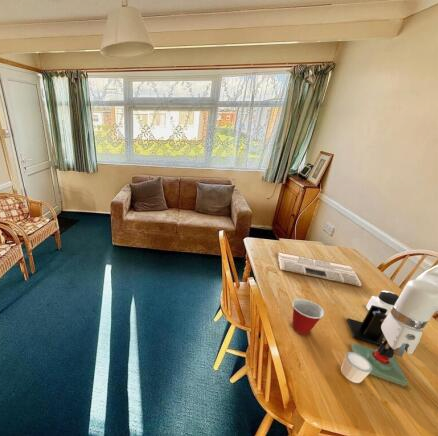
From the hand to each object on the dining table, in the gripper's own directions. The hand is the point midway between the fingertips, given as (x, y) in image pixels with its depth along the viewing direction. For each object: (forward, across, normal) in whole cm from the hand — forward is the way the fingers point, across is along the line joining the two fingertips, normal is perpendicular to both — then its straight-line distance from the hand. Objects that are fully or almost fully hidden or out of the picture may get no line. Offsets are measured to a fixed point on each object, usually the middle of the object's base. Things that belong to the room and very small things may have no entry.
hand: (384, 354), depth 79 cm
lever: (-1, +15, -5) cm, 16 cm away
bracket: (+6, +15, -2) cm, 16 cm away
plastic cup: (+6, +6, +24) cm, 25 cm away
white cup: (+6, -8, +10) cm, 14 cm away
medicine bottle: (+6, +30, -10) cm, 32 cm away
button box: (+6, 0, 0) cm, 6 cm away
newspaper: (+6, +57, +12) cm, 58 cm away
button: (+2, 0, 0) cm, 2 cm away
